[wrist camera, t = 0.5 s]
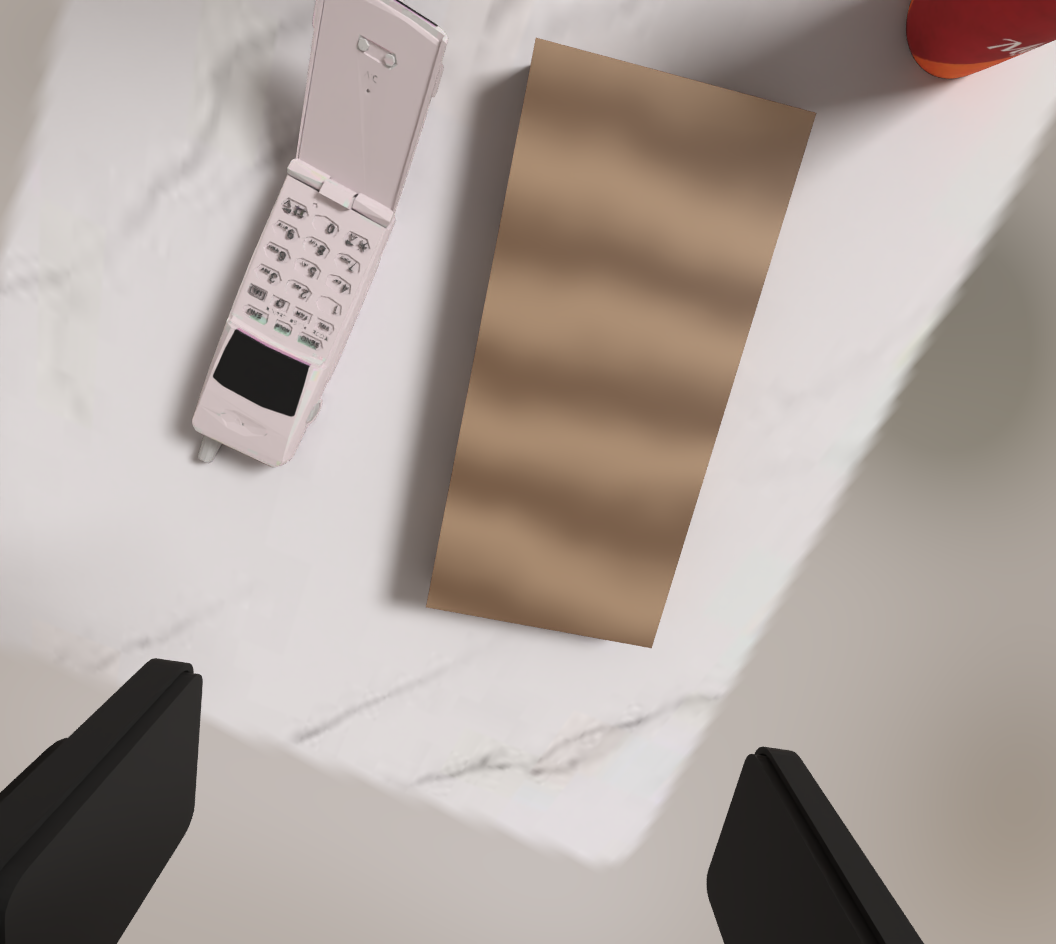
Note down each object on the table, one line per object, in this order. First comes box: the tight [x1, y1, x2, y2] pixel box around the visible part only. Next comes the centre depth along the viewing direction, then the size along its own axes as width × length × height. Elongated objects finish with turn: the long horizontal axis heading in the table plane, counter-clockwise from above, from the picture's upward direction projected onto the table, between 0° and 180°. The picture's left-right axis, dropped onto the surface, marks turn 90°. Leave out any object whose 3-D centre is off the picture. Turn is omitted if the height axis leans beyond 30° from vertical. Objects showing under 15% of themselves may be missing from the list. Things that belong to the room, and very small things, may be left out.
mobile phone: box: [192, 0, 448, 467], centre depth 30 cm, size 6×6×25 cm
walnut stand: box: [426, 38, 816, 648], centre depth 33 cm, size 30×14×3 cm, turn 168°
